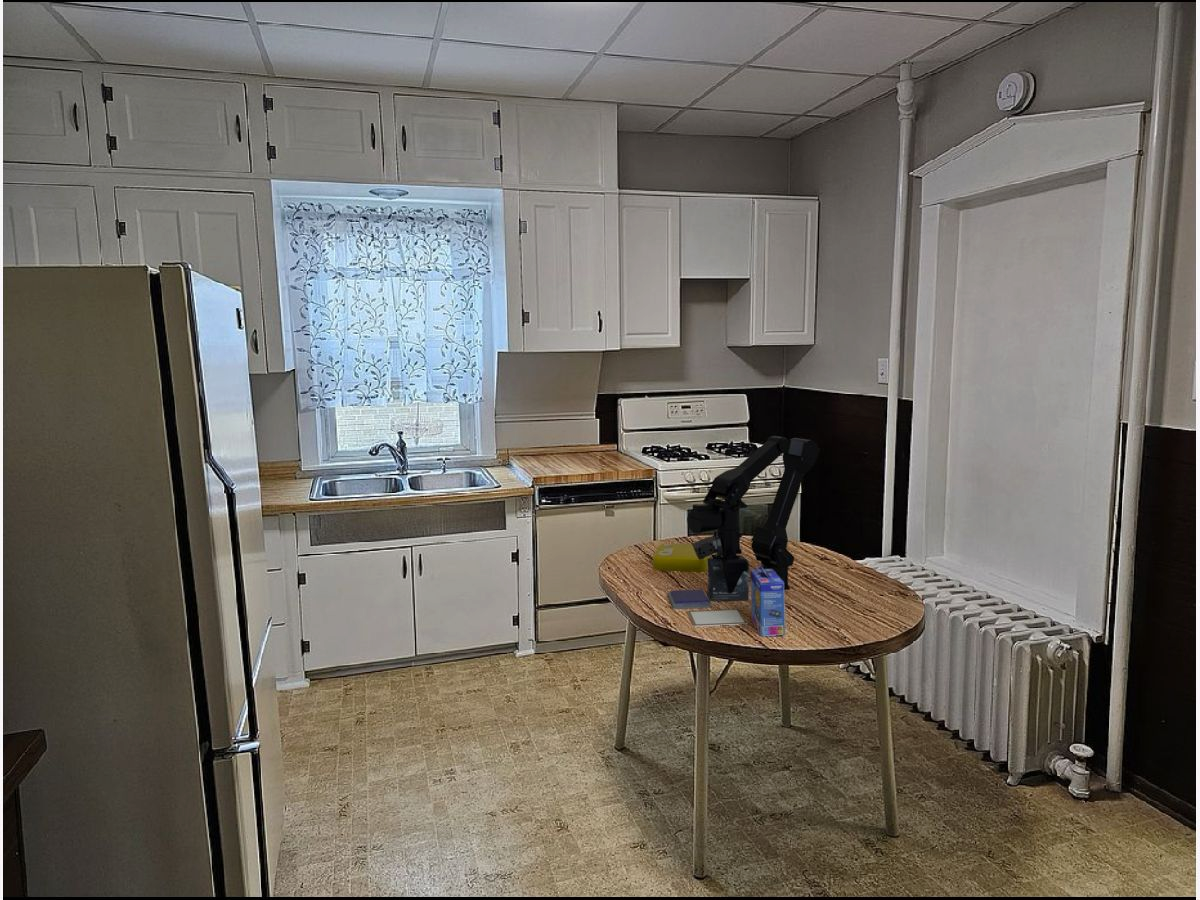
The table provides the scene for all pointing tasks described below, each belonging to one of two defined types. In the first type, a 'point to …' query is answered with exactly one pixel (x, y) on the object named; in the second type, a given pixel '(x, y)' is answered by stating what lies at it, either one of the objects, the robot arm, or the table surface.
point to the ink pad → (689, 599)
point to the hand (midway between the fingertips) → (727, 588)
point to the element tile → (678, 558)
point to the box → (725, 584)
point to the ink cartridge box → (767, 602)
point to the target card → (716, 617)
